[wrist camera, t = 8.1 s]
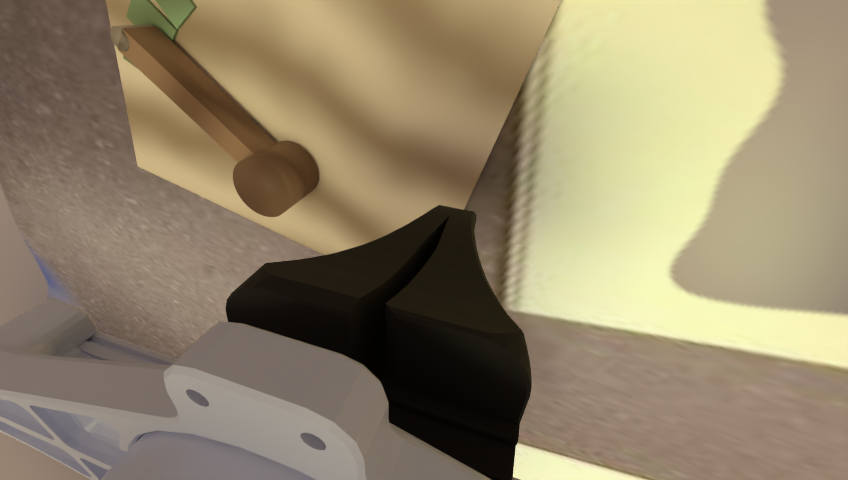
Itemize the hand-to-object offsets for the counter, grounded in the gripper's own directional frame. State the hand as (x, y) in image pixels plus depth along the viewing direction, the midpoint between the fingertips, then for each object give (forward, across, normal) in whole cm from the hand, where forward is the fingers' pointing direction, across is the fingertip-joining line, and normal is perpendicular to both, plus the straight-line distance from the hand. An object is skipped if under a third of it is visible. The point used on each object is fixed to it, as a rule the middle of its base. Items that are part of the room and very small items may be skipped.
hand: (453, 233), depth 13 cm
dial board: (+9, +12, -2) cm, 15 cm away
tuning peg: (+8, +16, 0) cm, 18 cm away
